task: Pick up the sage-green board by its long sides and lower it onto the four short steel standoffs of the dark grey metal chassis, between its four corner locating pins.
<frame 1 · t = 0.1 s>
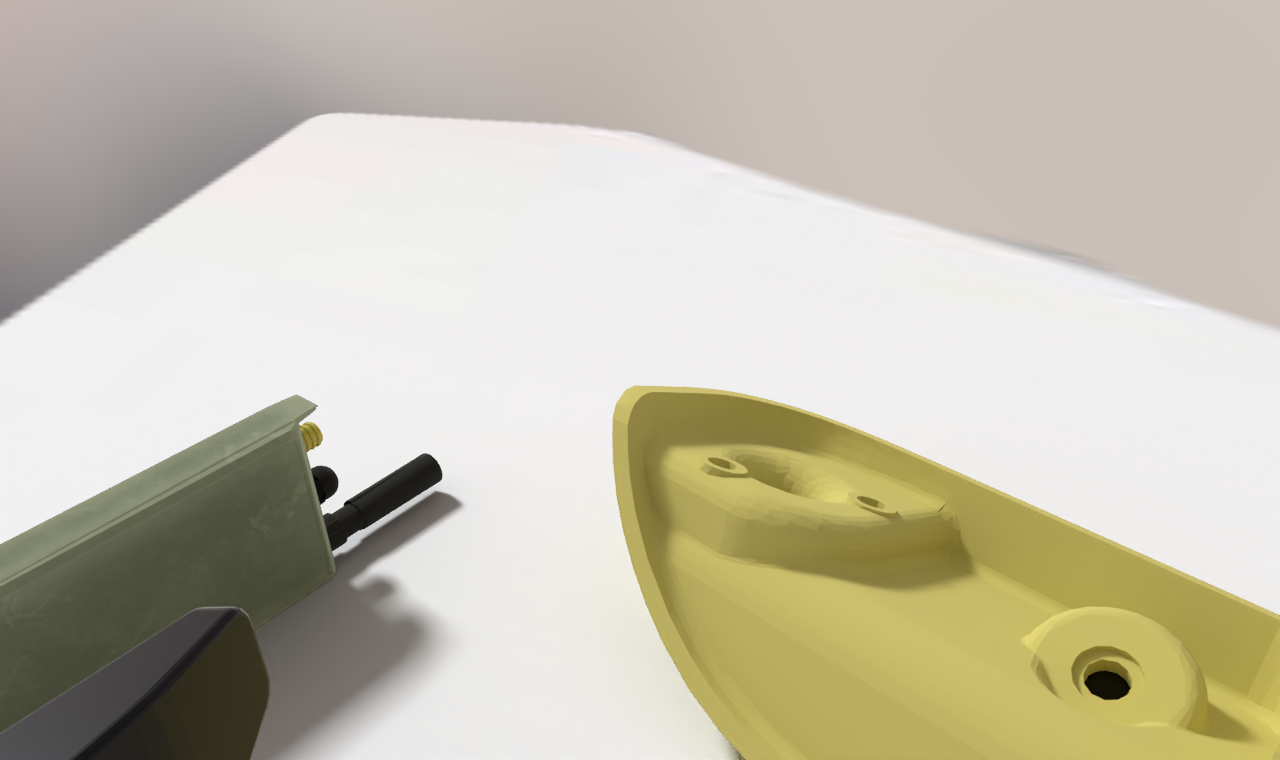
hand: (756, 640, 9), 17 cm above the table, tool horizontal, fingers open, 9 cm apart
plastic component: (929, 687, 31), on the table
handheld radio: (156, 685, 35), on the table
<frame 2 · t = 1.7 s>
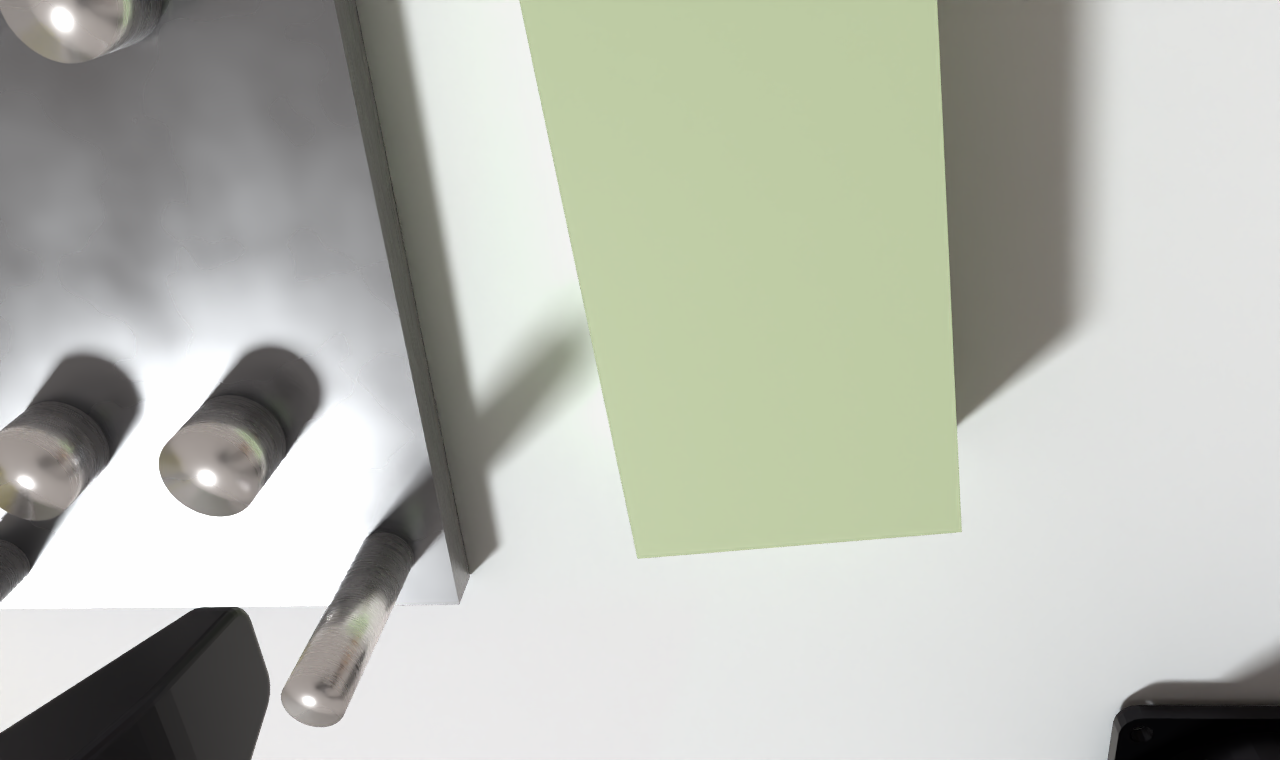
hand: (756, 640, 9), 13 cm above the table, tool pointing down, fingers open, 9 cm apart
chassis: (109, 222, 22), on the table
board: (756, 179, 20), on the table
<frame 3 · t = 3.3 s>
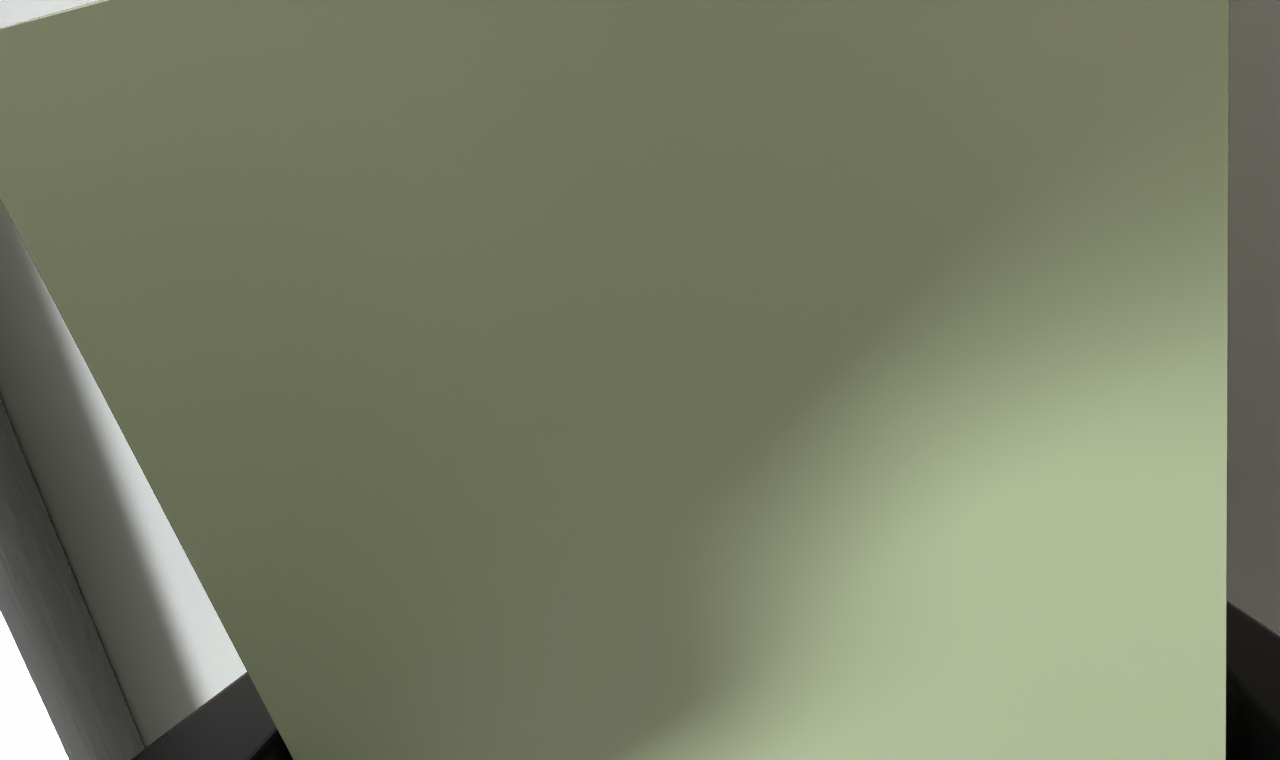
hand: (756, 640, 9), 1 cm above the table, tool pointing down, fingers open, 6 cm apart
board: (753, 532, 10), on the table, touching gripper
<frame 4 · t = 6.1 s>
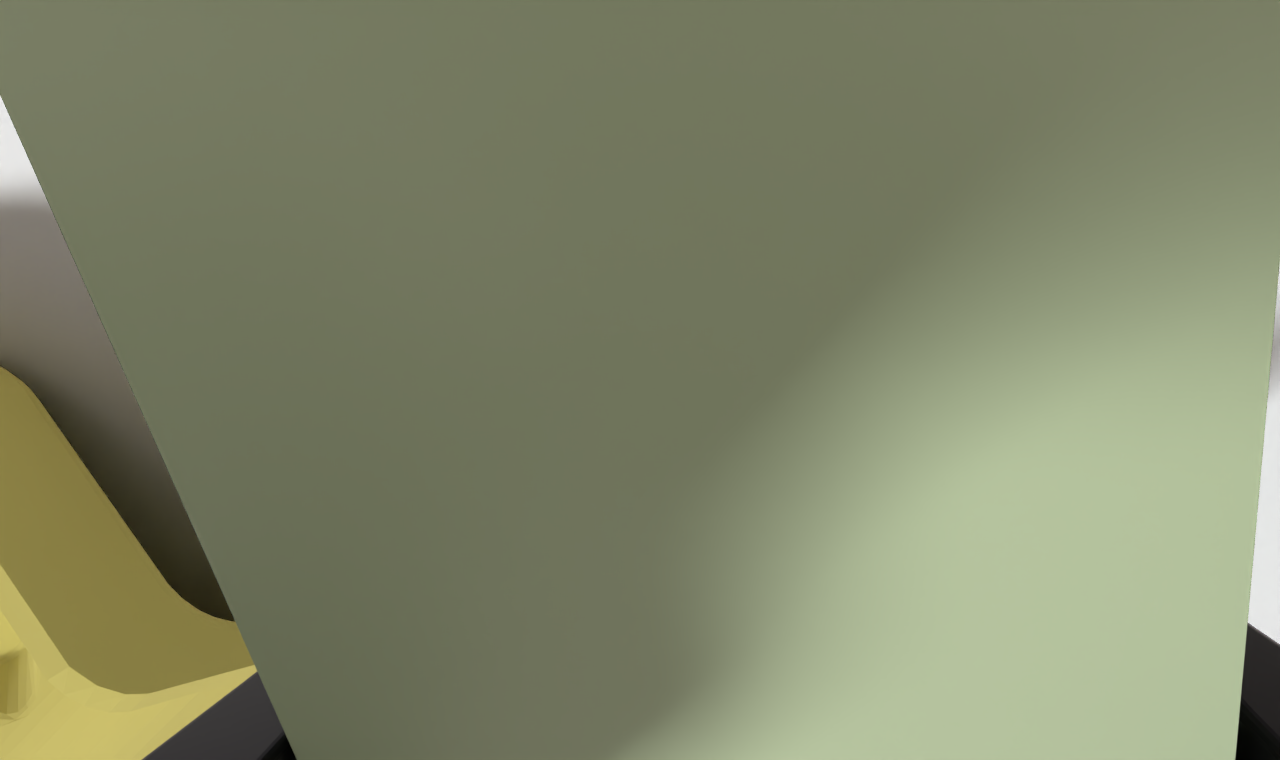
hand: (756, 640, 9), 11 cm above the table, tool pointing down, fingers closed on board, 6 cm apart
board: (754, 536, 10), point 10 cm above the table, touching gripper
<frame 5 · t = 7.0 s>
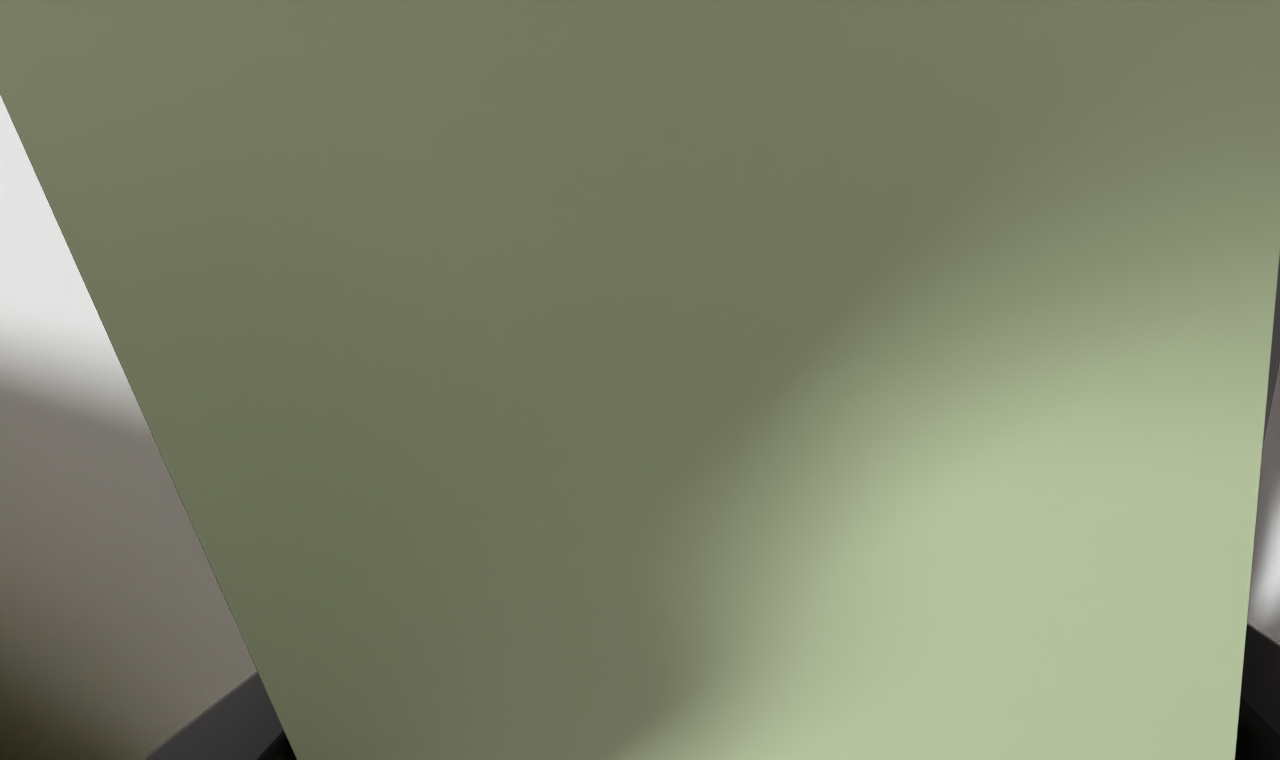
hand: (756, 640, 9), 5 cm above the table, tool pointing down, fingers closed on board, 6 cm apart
chassis: (748, 353, 14), on the table
board: (754, 536, 10), point 4 cm above the table, touching gripper
when the fingers open (5 cm above the table, at t = 7.6 s): board stays where it is, resting on chassis.
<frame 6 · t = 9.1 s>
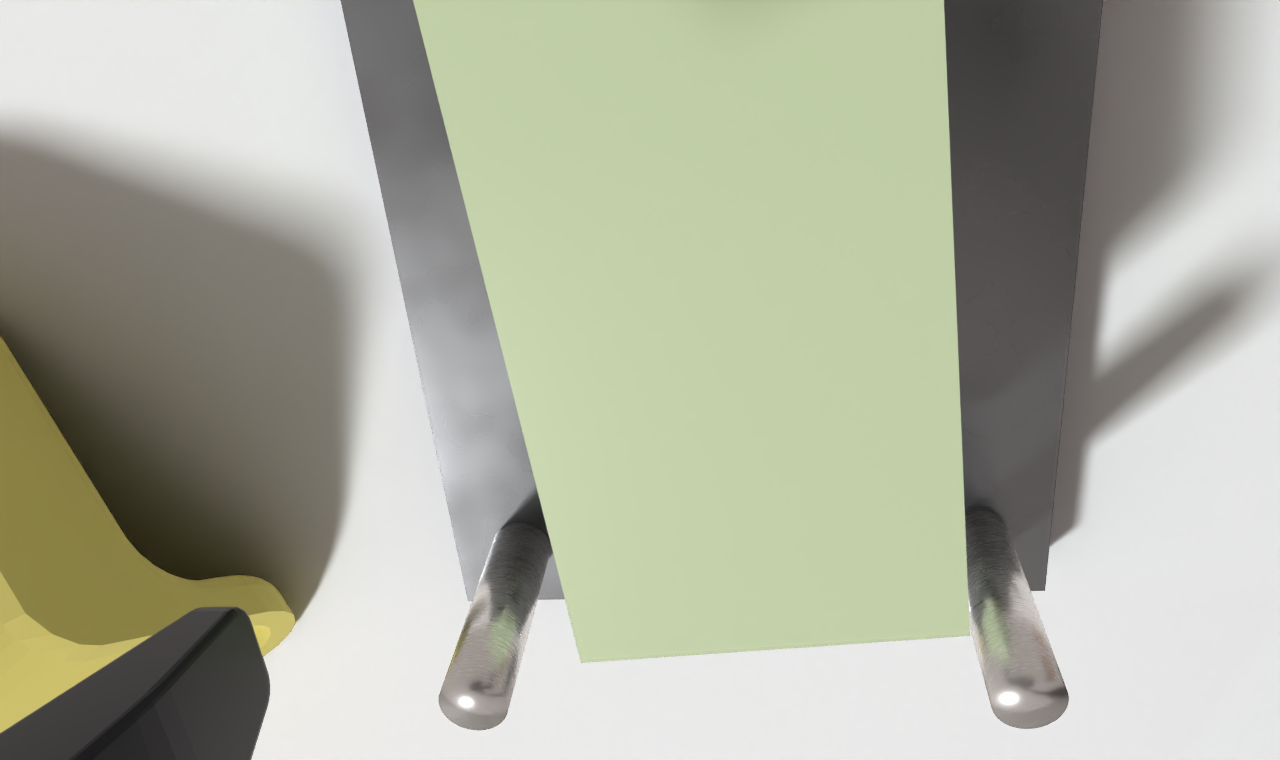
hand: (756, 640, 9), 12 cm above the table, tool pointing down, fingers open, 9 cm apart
chassis: (722, 161, 19), on the table
board: (722, 207, 17), point 2 cm above the table, touching chassis
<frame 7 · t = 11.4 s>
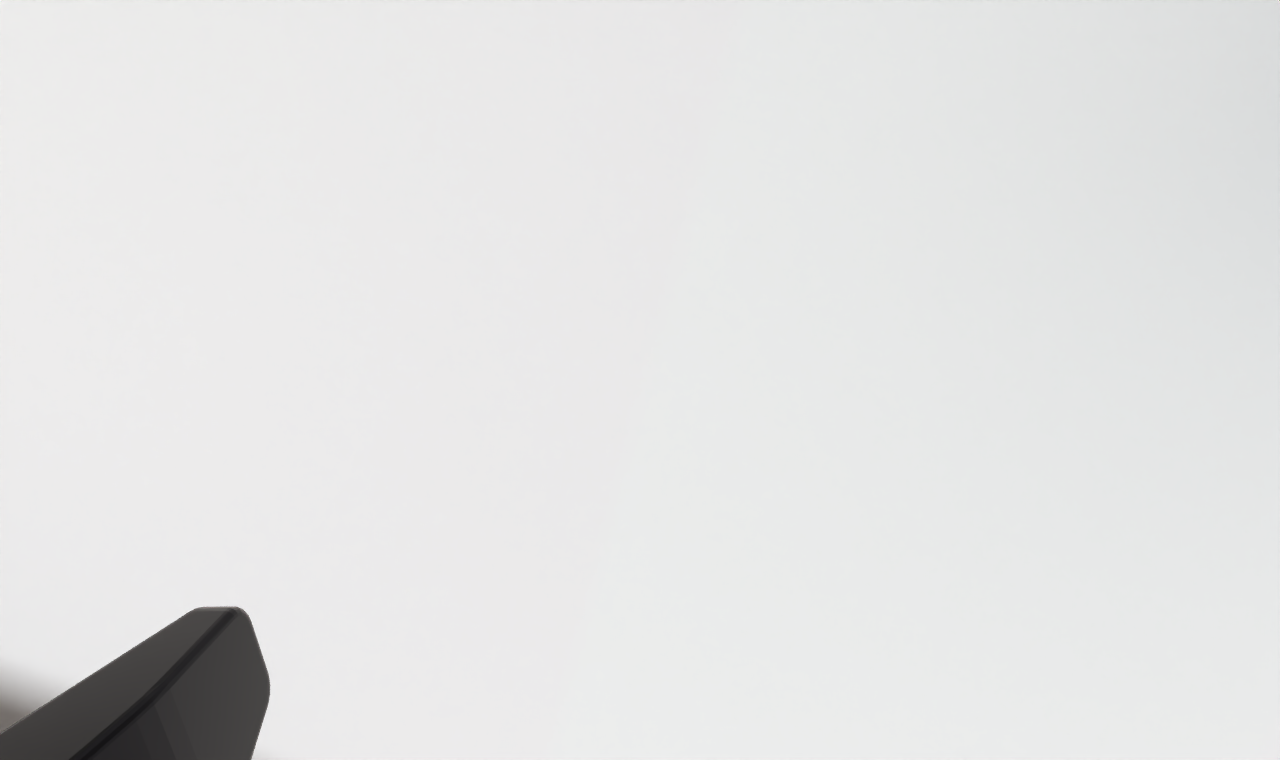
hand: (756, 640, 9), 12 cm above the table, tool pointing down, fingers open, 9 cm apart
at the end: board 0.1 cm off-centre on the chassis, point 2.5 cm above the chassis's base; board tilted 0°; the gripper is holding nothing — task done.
